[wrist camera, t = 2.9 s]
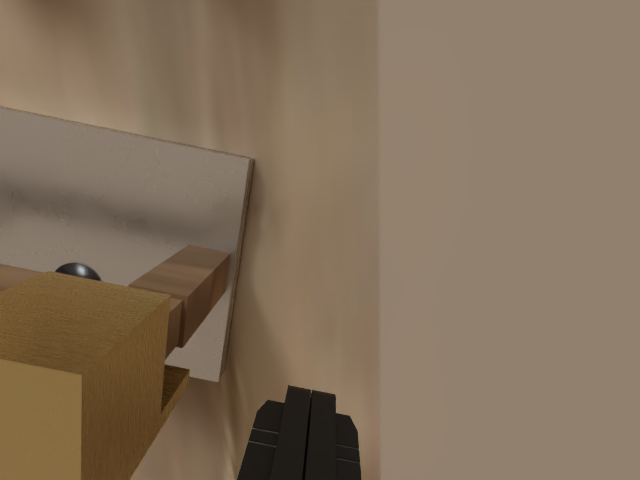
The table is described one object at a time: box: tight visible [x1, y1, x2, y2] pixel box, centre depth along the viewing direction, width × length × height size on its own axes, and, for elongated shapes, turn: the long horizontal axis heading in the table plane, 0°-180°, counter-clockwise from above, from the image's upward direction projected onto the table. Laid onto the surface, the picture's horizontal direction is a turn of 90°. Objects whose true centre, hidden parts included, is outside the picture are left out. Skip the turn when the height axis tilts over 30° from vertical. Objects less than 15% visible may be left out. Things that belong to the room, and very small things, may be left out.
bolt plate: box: [0, 107, 254, 382], centre depth 20 cm, size 14×28×1 cm, turn 79°
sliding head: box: [0, 271, 190, 480], centre depth 13 cm, size 6×4×12 cm
